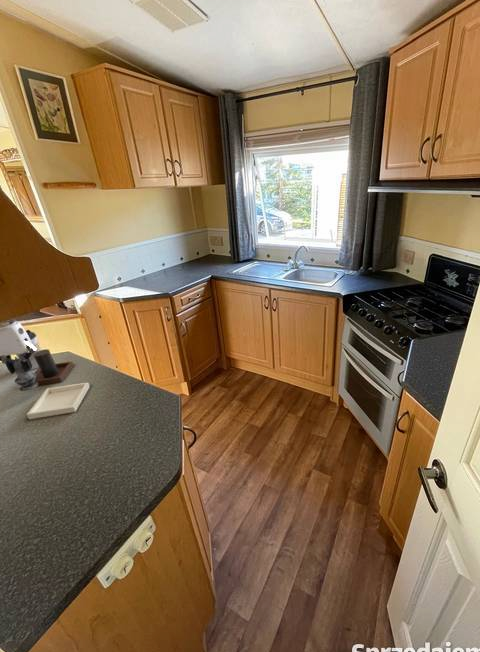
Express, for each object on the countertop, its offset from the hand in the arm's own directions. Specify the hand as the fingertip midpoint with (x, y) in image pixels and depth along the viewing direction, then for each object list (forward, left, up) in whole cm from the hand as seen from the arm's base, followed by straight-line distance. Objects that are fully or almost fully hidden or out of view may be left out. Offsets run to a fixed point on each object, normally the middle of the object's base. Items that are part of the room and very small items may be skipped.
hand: (21, 370), depth 99 cm
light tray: (+12, -7, -11) cm, 17 cm away
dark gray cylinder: (+1, +12, -10) cm, 16 cm away
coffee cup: (-10, +23, -11) cm, 27 cm away
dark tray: (+1, +12, -11) cm, 16 cm away
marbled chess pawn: (0, 0, -7) cm, 7 cm away
